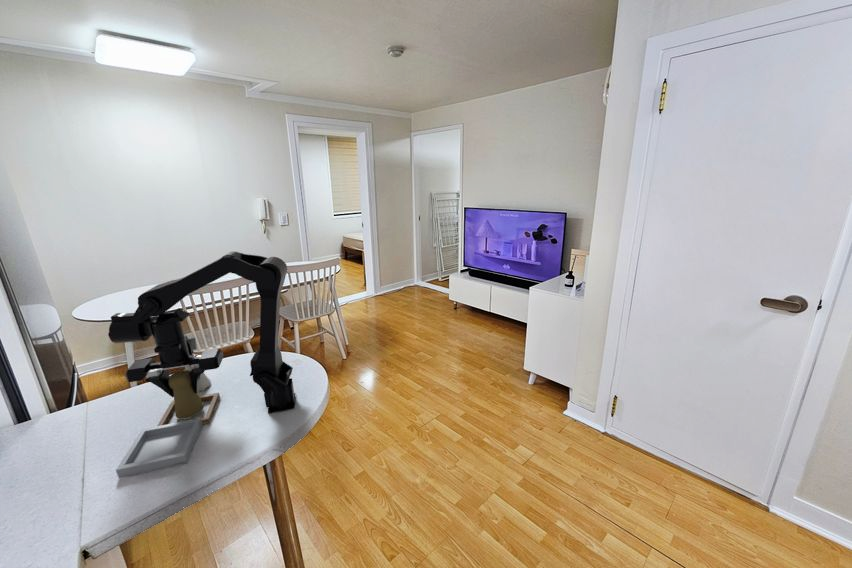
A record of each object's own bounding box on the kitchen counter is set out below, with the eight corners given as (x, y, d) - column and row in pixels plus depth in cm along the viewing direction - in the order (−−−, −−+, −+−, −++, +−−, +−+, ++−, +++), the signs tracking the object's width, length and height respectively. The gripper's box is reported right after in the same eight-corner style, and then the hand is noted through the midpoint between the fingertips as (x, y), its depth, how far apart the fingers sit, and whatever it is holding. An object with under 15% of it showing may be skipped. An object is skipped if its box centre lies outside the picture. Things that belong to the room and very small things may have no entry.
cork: (190, 420, 84) (179, 381, 81) (169, 417, 85) (157, 379, 82) (209, 404, 90) (200, 367, 86) (189, 401, 91) (179, 365, 87)
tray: (202, 425, 84) (200, 417, 83) (187, 463, 73) (184, 455, 73) (144, 436, 81) (141, 429, 80) (119, 478, 70) (115, 470, 69)
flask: (204, 376, 104) (197, 347, 101) (216, 385, 100) (208, 354, 97) (177, 388, 98) (168, 358, 95) (188, 398, 94) (179, 366, 91)
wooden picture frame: (220, 397, 94) (218, 392, 94) (209, 423, 85) (208, 418, 84) (173, 405, 91) (172, 400, 91) (156, 434, 81) (155, 429, 81)
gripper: (222, 319, 91) (233, 370, 96) (137, 329, 85) (154, 383, 90) (211, 337, 81) (224, 393, 86) (115, 350, 75) (134, 409, 80)
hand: (185, 394), depth 86 cm, fingers closed on cork, 5 cm apart
